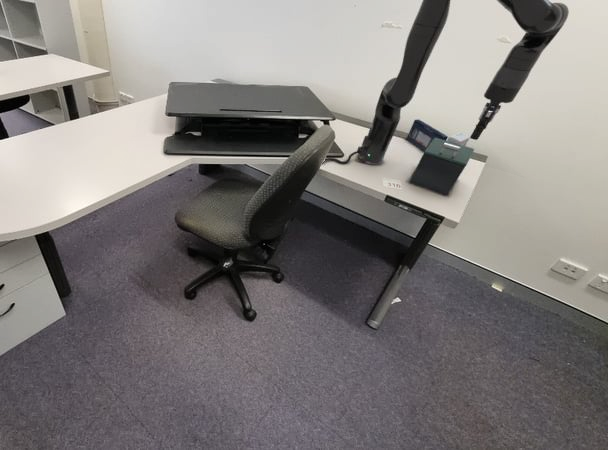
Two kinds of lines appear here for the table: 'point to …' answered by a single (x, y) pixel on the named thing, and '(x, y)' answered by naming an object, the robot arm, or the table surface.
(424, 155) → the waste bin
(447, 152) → the bin lid
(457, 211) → the table surface
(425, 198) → the table surface
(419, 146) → the vhs cassette tape
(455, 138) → the ink box
